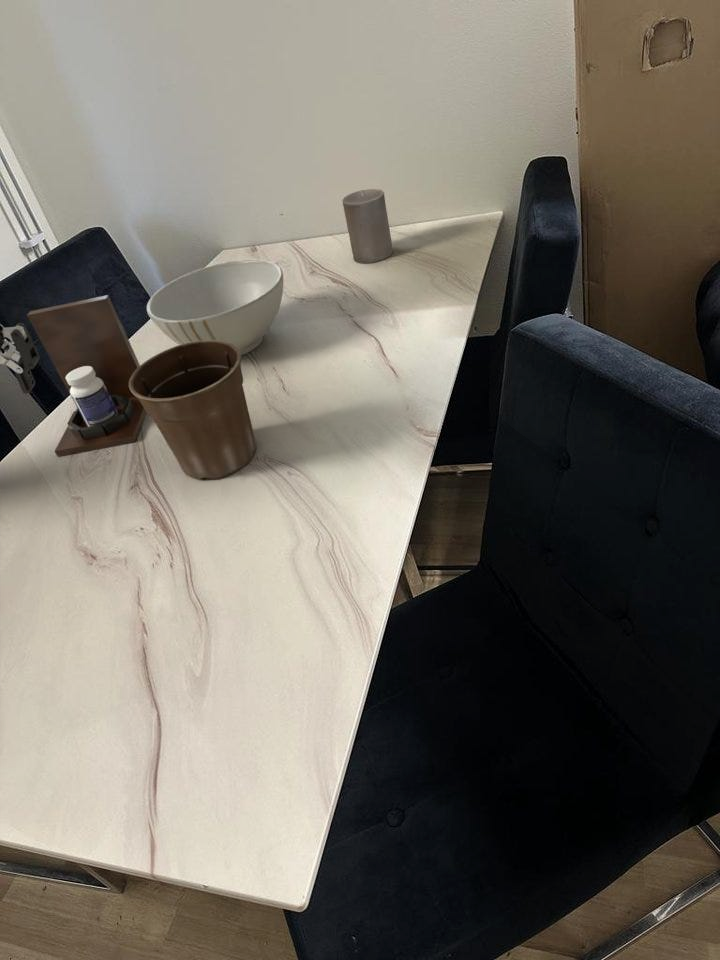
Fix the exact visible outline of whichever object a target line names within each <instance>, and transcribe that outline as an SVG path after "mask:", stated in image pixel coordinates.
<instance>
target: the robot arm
mask: <svg viewBox="0 0 720 960" xmlns="http://www.w3.org/2000/svg"><path fill="white" fill-rule="evenodd" d="M6 338H7V339H8V340H9V341H8V340H7V339H6ZM1 349H2V350H3V351H4V353H2V352H0V365H5V366H7V367H8V368H10V369H11V370H12V371H14V372H15V373H14V375H15V377H16V379H17V382H18V384H19V386H20V389H21V391H22V393H23V395H25V394H31V392H32V391H33V389H34V387H35V385H36V379H35V378H34V375H33V373H32V370H34V369H35V367H36V365H37V364H38V362H39V360H40V358H41V355H40V354H39V352H38V350H37V348H36V345H35V344H34V341H33V339H32V337H31V335H30V332H29V331H28V328H27V326H26V325H25V323H23V322H17V323H16V325H15V326H8V327H7V326H6V327H4V326H3V325H2V324H1V323H0V350H1Z"/></svg>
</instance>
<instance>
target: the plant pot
mask: <svg viewBox="0 0 720 960" xmlns="http://www.w3.org/2000/svg"><path fill="white" fill-rule="evenodd" d="M241 362H242V355H241V353H240V350H239V349H238V348H237V347H236V346H235V345H234V344H232V343H229V342H226V341H221V340H203V341H195V342H190V343H185V344H181V345H179V344H177V345H175V346H173V347H170V348H168V349H164V350H163V351H161V352H158V353H157V354H155V355H153V356H152V357H150V358H148V359H146V361H144V362H143V363H141V364H140V366H139V367H138V368H137V369H136V370H135V371H134V373H133V374H132V376H131V378H130V380H129V388H130V390H131V392H132V394H133V395H134V396H135V397H137V398H138V399H139V400H140V402H141V404H142V405H143V407H144V409H145V410H146V412H147V413H146V414H148V415H149V416H150V417H151V418H152V420H153V422H154V423H155V426H156V427H157V429H158V430H159V432H160V433H161V435H162V437H163V439H164V440H165V442H166V444H167V445H168V448H169V449H170V452H172V454H173V456H174V459H176V461H177V463H178V465H179V467H180V469H181V471H182V472H183V473H184V474H185V475H186V476H188V477H189V478H191V479H195V480H199V481H200V480H203V479H204V478H205V479H210V480H216V479H221V478H224V477H227V476H230V475H232V474H234V473H236V472H237V471H239V470H241V469H242V468H244V467H245V466H246V465H248V464H249V463H250V462H251V461H252V459H253V457H254V452H255V451H256V450H257V441H256V437H255V434H254V429H253V425H252V420H251V416H250V412H249V408H248V403H247V398H246V395H245V389H244V385H243V384H244V376H243V375H244V374H243V372H242V367H241V366H242V365H241Z"/></svg>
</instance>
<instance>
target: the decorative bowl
mask: <svg viewBox="0 0 720 960" xmlns="http://www.w3.org/2000/svg"><path fill="white" fill-rule="evenodd" d="M283 293H284V274H283V269H282V268H281V267H280V266H279V265H278V264H276V263H275V262H272V261H269V260H265V259H264V260H263V259H237V260H231V261H224V262H220V263H216V264H212V265H209V266H205V267H202V268H199V269H196V270H193V271H190V272H188V273H186V274H184V275H182V276H179V277H177V278H175V279H173V280H172V281H170V282H168V283H166V284H165V285H164V286H162V287H161V288H159V289H158V290H157V291H156V292H155V293H153V295H152V296H151V297H150V299H148V302H147V304H146V312H147V315H148V317H149V318H150V320H151V321H152V322H153V323H154V325H155V326H156V327H157V328H158V329H159V330H160V331H161V332H162V333H163V335H165V336H166V337H168V338H169V339H170V340H172V341H173V342H174V343H176V344H177V345H181V344H185V343H190V342H195V341H203V340H221V341H226V342H229V343H232V344H234V345H235V346H236V347H237V348H238V349H239V350H240V353H241V356H243V355H246V354H247V353H249V352H251V351H253V350H254V349H256V348H257V347H258V346H259V345H260V344H261V343H262V341H263V340H264V339H263V338H264V335H265V334H266V333H267V332H268V330H270V328H271V326H272V325H273V323H274V321H275V319H276V318H277V316H278V313H279V310H280V307H281V304H282V299H283Z"/></svg>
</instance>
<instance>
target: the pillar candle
mask: <svg viewBox="0 0 720 960" xmlns="http://www.w3.org/2000/svg"><path fill="white" fill-rule="evenodd" d="M385 197H386V196H385V192H384V191H383V190H382V189H379V188H378V189H377V188H376V189H375V188H370V189H361V190H358V191H354V192H352V193H349V194H347V195H346V196H344V197H343V198H342V207H343V211H344V217H345V222H346V227H347V232H348V236H349V241H350V242H349V243H350V247H351V253H352V259H353V261H354V262H356V263H358V264H373V263H377V262H380V261H383V260H386V259H387V258H389V257H390V256H392V254H393V251H394V248H393V241H392V236H391V235H392V234H391V230H390V224H389V217H388V210H387V204H386V198H385Z"/></svg>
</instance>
